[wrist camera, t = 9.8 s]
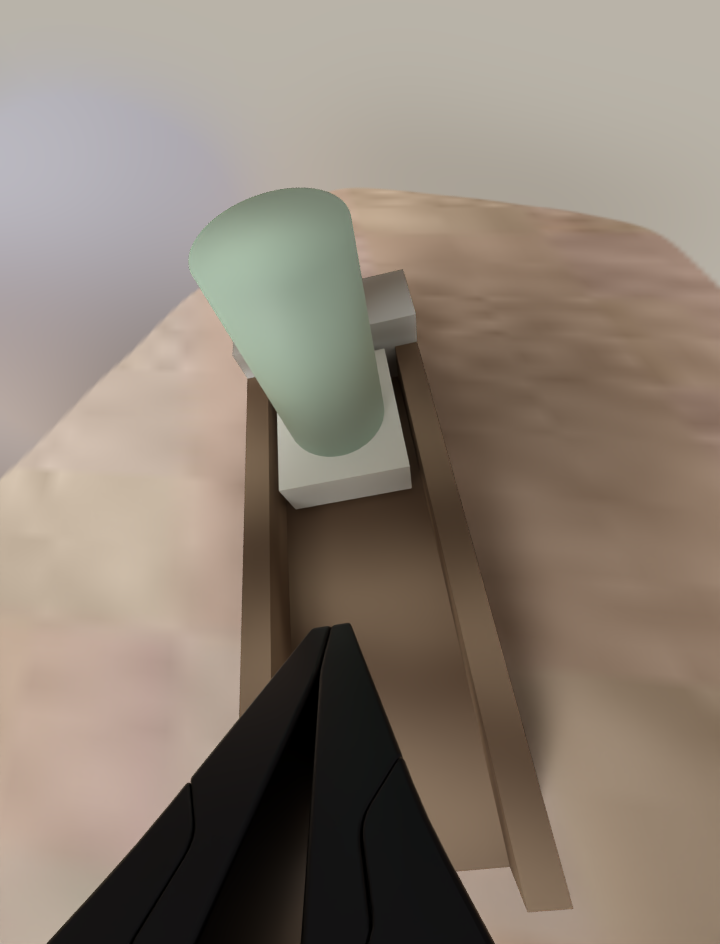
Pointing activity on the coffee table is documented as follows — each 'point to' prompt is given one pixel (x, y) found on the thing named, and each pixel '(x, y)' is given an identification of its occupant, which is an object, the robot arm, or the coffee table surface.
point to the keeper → (306, 341)
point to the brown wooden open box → (402, 619)
